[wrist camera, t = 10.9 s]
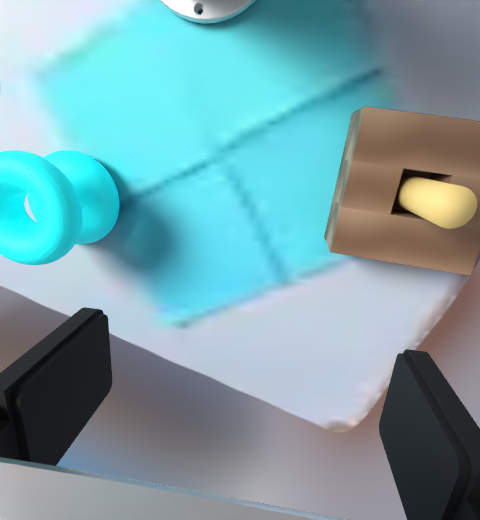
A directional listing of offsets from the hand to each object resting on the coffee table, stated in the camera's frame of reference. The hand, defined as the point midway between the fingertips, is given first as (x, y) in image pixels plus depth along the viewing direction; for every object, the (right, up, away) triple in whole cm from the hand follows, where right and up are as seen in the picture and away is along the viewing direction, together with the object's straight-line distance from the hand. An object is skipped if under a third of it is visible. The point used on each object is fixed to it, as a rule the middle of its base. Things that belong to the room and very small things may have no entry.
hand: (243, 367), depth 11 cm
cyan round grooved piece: (-18, +11, +27) cm, 34 cm away
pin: (+15, +10, +21) cm, 27 cm away
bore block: (+15, +10, +22) cm, 29 cm away
